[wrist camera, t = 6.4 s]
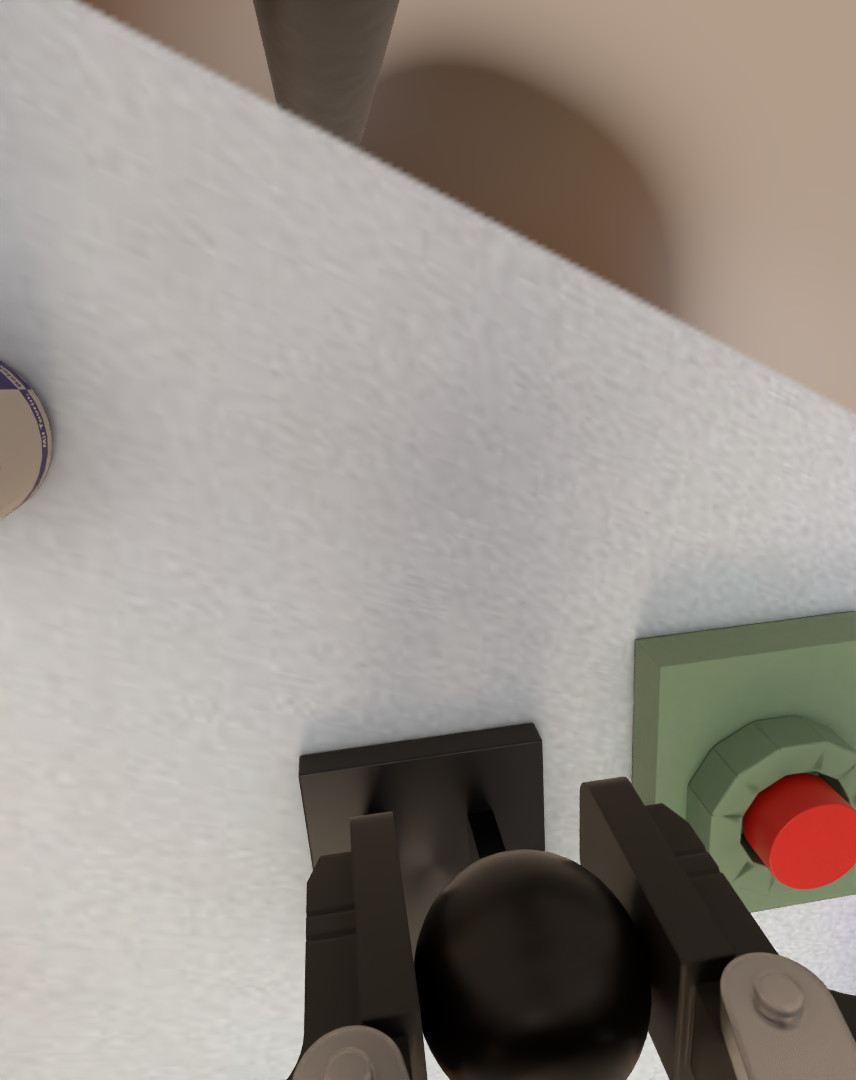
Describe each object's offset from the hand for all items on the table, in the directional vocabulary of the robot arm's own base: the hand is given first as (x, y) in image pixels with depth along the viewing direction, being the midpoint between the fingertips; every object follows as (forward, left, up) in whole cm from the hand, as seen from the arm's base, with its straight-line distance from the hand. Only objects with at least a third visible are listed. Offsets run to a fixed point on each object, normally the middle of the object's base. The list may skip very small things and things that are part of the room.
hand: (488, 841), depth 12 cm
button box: (+10, +13, -14) cm, 22 cm away
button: (+10, +13, -11) cm, 20 cm away
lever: (+6, 0, -1) cm, 6 cm away
